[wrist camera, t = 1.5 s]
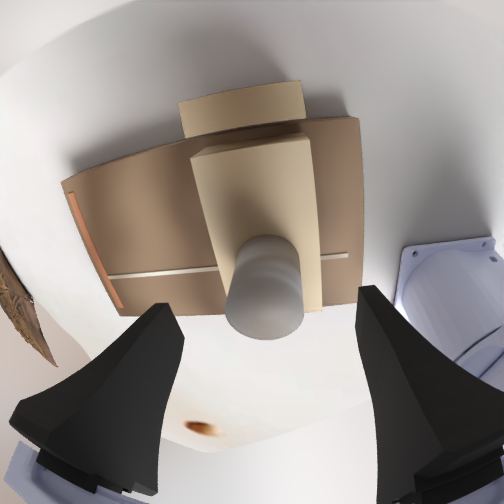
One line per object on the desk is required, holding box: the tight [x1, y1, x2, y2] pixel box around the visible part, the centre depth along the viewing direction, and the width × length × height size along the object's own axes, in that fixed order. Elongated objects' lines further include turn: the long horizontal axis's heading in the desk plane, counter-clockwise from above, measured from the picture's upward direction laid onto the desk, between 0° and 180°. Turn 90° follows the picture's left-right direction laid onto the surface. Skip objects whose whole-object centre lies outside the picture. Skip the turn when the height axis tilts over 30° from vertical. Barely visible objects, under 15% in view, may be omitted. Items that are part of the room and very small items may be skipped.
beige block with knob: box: [178, 80, 322, 340], centre depth 13 cm, size 6×12×8 cm, turn 10°
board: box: [61, 116, 364, 316], centre depth 18 cm, size 19×12×2 cm, turn 100°
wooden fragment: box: [0, 251, 58, 367], centre depth 27 cm, size 26×11×1 cm, turn 176°
